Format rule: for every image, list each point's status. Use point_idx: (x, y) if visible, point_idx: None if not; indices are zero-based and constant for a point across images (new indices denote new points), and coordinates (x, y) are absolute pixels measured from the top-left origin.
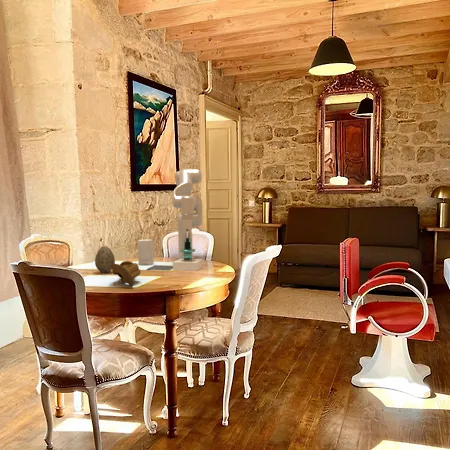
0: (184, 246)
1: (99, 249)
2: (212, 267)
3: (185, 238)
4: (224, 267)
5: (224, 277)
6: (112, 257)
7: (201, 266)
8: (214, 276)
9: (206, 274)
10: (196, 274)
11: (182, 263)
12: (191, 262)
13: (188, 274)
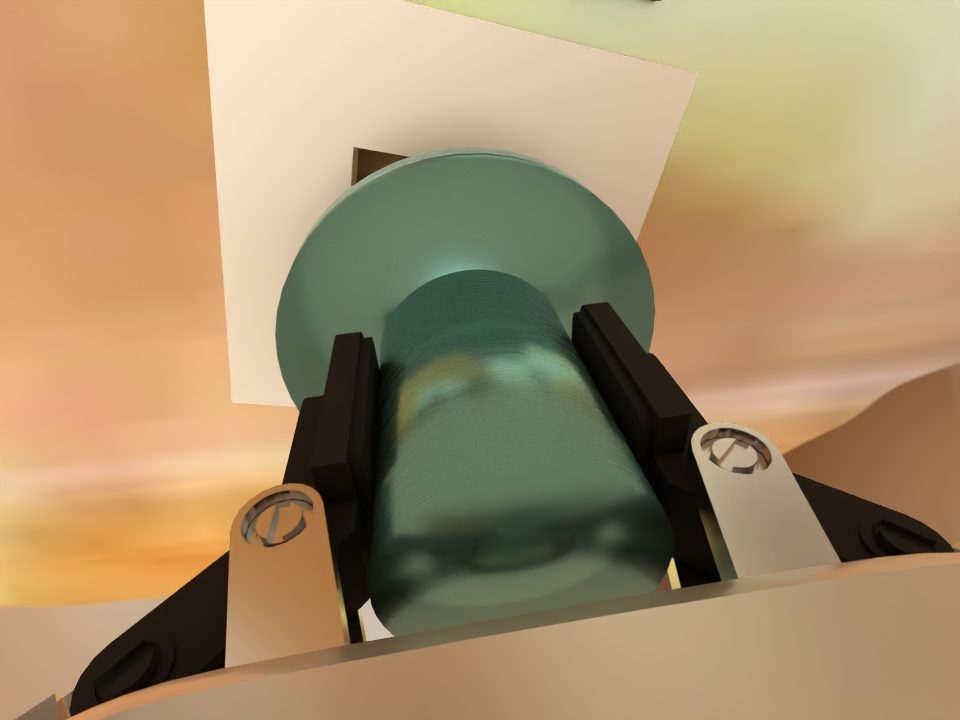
0: (415, 340)
1: None
2: None
3: (231, 649)
4: None
5: (3, 584)
6: None
7: None
8: (13, 519)
9: (99, 448)
10: (53, 357)
11: (223, 180)
12: (251, 333)
13: (6, 266)
